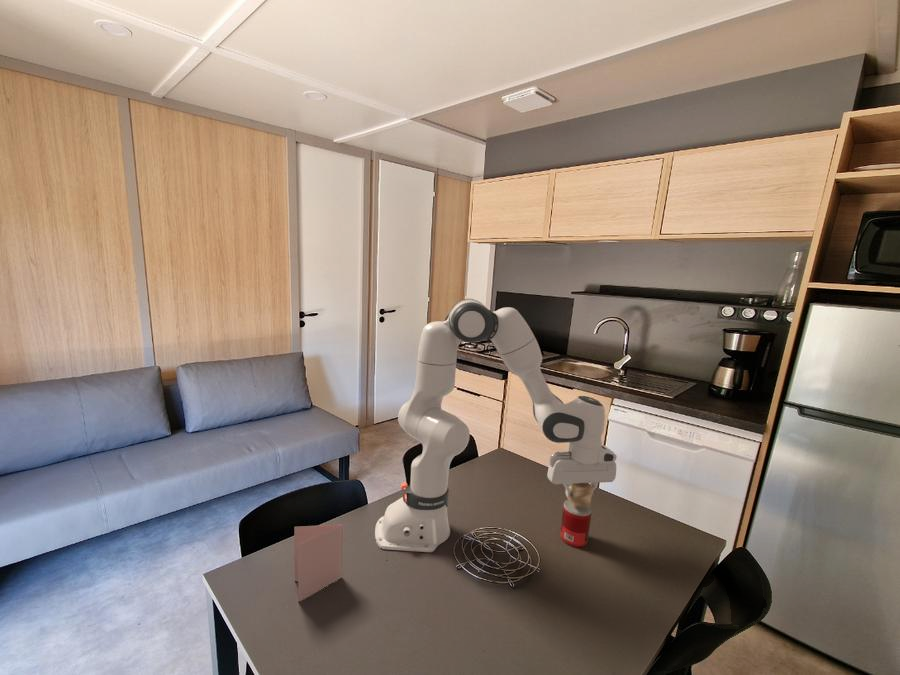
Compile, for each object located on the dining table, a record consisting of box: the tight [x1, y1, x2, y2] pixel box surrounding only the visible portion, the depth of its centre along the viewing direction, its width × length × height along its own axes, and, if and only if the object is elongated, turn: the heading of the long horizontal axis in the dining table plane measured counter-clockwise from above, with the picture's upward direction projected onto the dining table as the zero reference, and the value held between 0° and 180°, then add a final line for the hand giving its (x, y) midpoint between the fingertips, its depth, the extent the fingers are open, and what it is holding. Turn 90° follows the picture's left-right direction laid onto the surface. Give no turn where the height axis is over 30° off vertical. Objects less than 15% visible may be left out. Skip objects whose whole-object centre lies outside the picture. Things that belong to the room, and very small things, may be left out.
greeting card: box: [293, 523, 344, 603], centre depth 95 cm, size 11×7×15 cm, turn 100°
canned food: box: [560, 499, 593, 548], centre depth 119 cm, size 8×8×11 cm
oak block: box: [565, 483, 593, 507], centre depth 118 cm, size 5×5×6 cm
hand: (578, 495), depth 118 cm, fingers closed on oak block, 5 cm apart
